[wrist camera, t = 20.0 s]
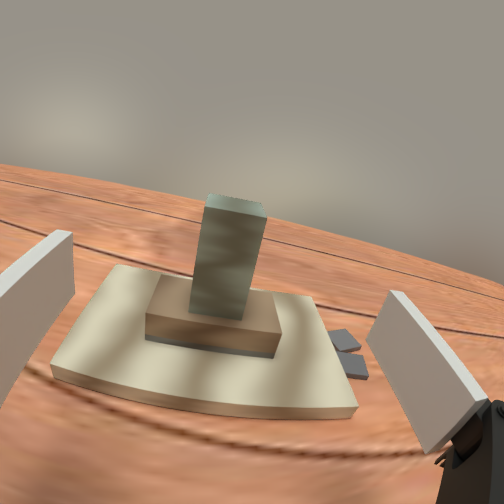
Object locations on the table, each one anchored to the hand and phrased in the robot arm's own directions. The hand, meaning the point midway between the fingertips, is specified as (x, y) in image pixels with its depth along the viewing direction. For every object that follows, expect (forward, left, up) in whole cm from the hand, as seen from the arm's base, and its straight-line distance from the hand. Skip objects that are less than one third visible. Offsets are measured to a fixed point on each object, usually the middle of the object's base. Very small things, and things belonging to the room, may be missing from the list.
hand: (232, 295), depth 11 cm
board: (0, +11, -11) cm, 15 cm away
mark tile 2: (+13, +12, -12) cm, 22 cm away
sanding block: (0, +11, -10) cm, 14 cm away
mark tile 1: (+13, +9, -12) cm, 20 cm away
